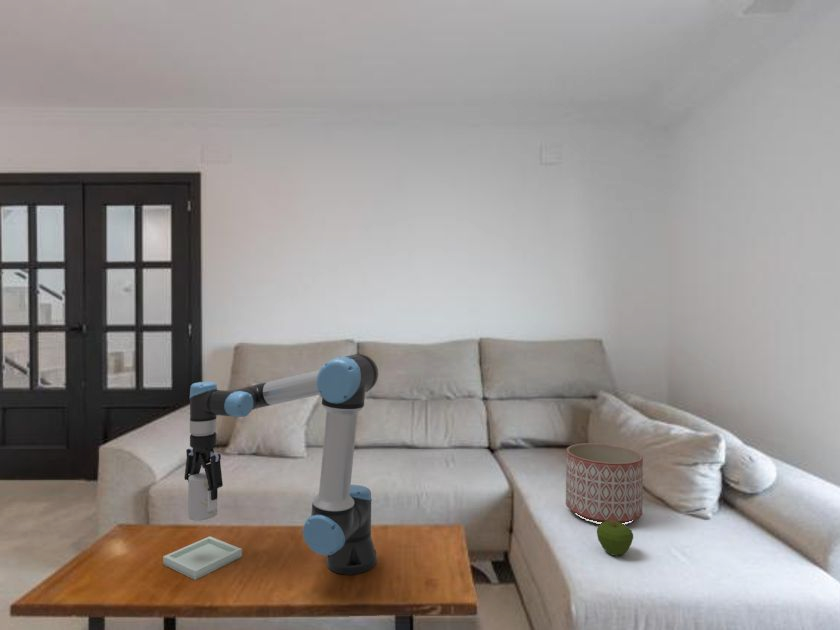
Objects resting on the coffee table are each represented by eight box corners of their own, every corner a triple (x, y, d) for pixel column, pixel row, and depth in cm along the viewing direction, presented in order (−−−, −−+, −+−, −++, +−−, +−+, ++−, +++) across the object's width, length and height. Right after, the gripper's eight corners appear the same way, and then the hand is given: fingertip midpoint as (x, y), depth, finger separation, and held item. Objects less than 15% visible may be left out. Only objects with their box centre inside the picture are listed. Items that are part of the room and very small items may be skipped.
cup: (206, 521, 150) (206, 481, 150) (182, 519, 151) (182, 479, 151) (222, 511, 158) (222, 472, 158) (199, 508, 159) (199, 471, 159)
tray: (241, 556, 157) (241, 548, 157) (195, 580, 144) (195, 571, 144) (209, 543, 166) (209, 536, 166) (163, 564, 152) (163, 556, 152)
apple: (591, 553, 161) (591, 522, 161) (604, 542, 169) (605, 512, 169) (625, 565, 154) (625, 532, 154) (638, 553, 161) (638, 522, 161)
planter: (647, 510, 196) (648, 449, 196) (635, 536, 173) (636, 468, 173) (576, 495, 211) (577, 439, 211) (556, 518, 188) (557, 455, 188)
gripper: (235, 435, 152) (235, 510, 152) (193, 426, 163) (193, 495, 163) (214, 440, 146) (213, 518, 146) (171, 430, 157) (171, 503, 157)
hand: (203, 506), depth 155 cm, fingers closed on cup, 8 cm apart
